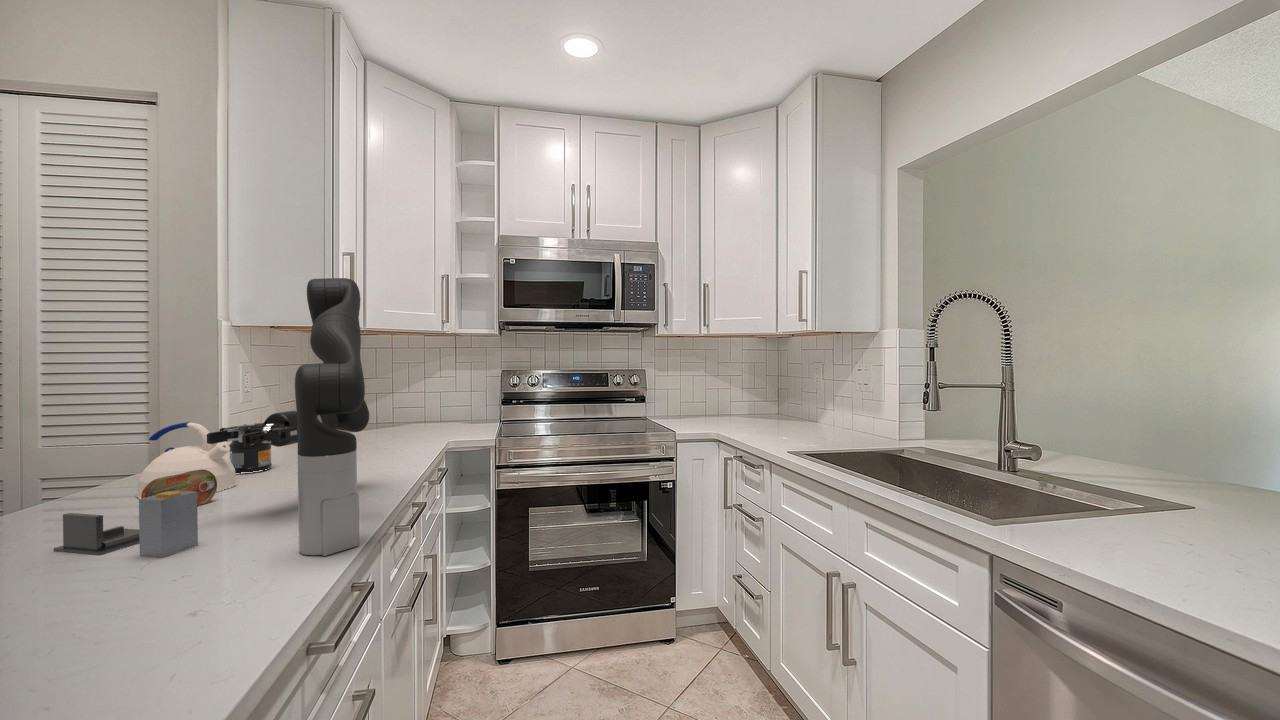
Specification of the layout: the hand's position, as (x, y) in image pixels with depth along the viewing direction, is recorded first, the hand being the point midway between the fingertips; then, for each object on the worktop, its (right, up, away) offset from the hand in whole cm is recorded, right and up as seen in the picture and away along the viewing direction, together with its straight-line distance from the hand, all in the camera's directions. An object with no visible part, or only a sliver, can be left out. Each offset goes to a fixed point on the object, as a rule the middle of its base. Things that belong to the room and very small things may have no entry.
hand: (225, 439), depth 105 cm
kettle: (-37, -19, +34) cm, 54 cm away
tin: (-23, -19, +16) cm, 34 cm away
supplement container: (-37, -19, +57) cm, 71 cm away
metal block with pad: (-2, -18, -10) cm, 21 cm away
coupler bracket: (-17, -19, -6) cm, 26 cm away
